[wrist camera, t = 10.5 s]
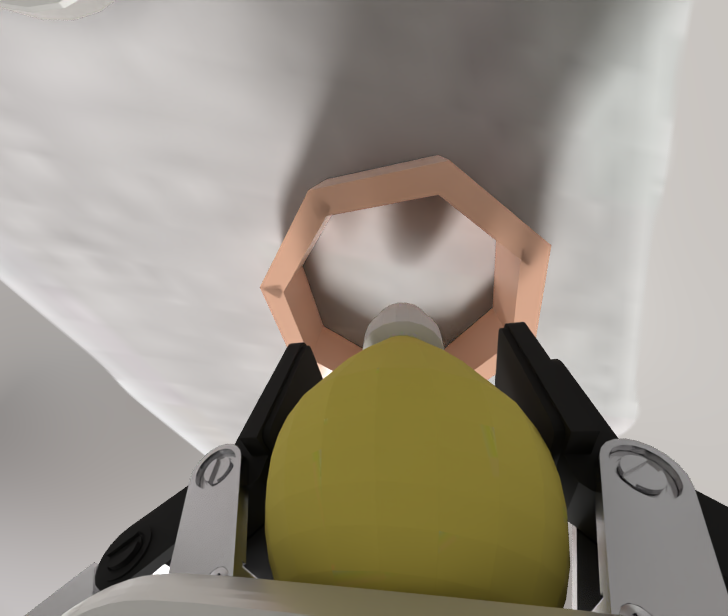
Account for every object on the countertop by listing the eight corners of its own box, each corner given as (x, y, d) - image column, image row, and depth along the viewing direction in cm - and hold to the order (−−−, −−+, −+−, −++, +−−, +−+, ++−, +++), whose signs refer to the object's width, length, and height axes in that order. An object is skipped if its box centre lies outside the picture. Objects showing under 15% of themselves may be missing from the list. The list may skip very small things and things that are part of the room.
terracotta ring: (257, 194, 13) (223, 208, 10) (529, 134, 11) (570, 134, 8) (325, 371, 19) (314, 407, 17) (506, 358, 17) (525, 397, 14)
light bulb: (311, 271, 11) (67, 637, 3) (476, 240, 10) (894, 780, 2) (351, 381, 15) (288, 701, 6) (479, 370, 13) (619, 766, 5)
